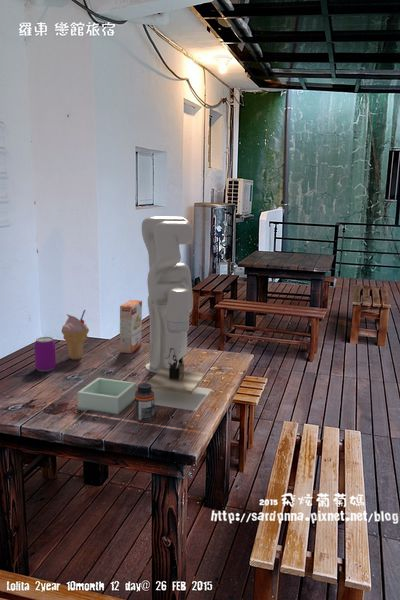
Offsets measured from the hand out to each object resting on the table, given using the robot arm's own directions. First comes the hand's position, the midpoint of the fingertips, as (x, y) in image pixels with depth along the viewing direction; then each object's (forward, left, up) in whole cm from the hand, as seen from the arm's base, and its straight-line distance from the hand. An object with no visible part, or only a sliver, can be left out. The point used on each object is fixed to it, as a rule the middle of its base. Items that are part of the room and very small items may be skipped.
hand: (176, 375), depth 180 cm
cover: (0, 0, -2) cm, 2 cm away
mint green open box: (+15, -19, -7) cm, 25 cm away
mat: (+1, 0, -7) cm, 7 cm away
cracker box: (-44, -37, -8) cm, 58 cm away
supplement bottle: (+21, -3, -8) cm, 23 cm away
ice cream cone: (-24, -53, -8) cm, 58 cm away
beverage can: (-8, -57, -8) cm, 58 cm away
